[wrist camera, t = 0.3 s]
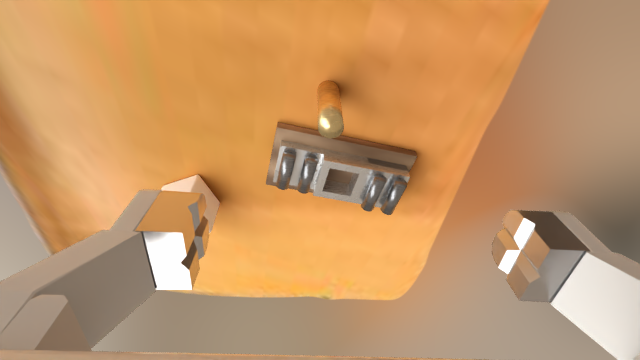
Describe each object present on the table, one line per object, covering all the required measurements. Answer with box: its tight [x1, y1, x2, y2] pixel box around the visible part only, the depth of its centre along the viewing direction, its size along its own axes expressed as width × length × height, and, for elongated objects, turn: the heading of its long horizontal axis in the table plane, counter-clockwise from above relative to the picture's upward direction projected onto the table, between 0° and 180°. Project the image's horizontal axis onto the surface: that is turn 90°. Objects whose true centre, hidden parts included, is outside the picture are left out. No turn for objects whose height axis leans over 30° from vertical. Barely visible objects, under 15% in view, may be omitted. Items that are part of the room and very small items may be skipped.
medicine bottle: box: [161, 175, 220, 233], centre depth 55 cm, size 7×7×12 cm
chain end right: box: [313, 154, 410, 215], centre depth 53 cm, size 7×14×5 cm, turn 76°
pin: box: [317, 81, 344, 138], centre depth 44 cm, size 3×3×10 cm
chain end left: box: [273, 140, 368, 193], centre depth 53 cm, size 7×14×4 cm, turn 76°
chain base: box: [266, 122, 417, 193], centre depth 55 cm, size 11×22×2 cm, turn 76°
